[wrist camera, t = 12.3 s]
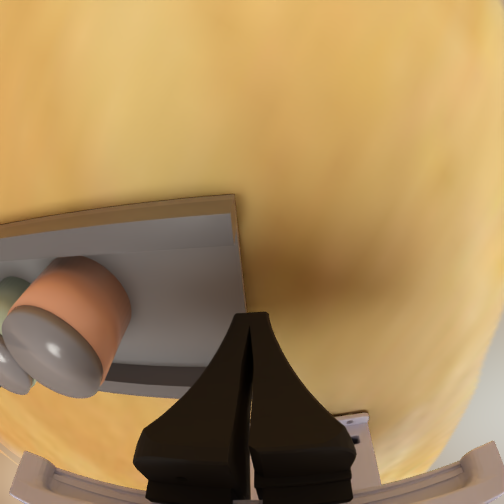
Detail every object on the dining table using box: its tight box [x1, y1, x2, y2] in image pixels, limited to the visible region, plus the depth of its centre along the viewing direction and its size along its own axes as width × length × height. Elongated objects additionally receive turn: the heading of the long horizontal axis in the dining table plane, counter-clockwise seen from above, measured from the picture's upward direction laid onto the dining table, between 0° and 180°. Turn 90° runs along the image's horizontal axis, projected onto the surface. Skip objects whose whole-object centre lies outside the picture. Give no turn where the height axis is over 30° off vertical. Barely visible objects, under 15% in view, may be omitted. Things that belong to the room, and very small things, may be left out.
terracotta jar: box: [2, 256, 131, 398], centre depth 12 cm, size 5×5×4 cm
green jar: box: [0, 276, 36, 395], centre depth 13 cm, size 5×5×4 cm
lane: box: [0, 194, 253, 399], centre depth 13 cm, size 19×10×4 cm, turn 94°
